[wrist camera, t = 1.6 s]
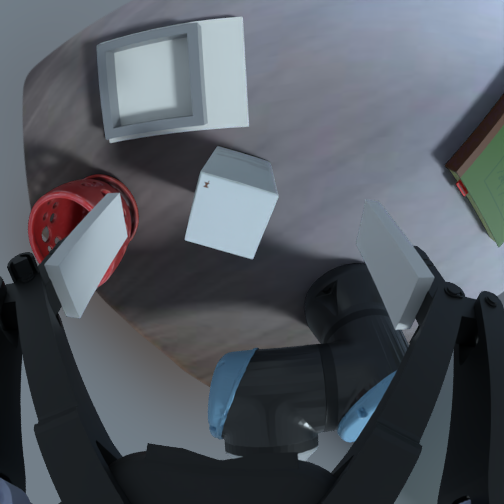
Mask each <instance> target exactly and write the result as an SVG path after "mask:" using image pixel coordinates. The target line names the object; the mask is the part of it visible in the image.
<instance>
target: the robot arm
mask: <svg viewBox="0 0 504 504" xmlns="http://www.w3.org/2000/svg"><path fill="white" fill-rule="evenodd" d="M127 237H128V236H127V230H126V225H125V220H124V214H123V209H122V203H121V196H120V193H107V194H106V196H105V197H104V198H103V199H102V200H101V201H100V202H99V203H98V204H97V205H96V206H95V207H94V208H93V209H92V210H91V211H90V212H89V213H88V214H87V215H86V217H85V218H84V219H83V220H82V221H81V222H80V223H79V224H78V225H77V226H76V228H75V229H74V230H73V231H72V232H71V233H70V234H69V235H68V236H66V237H65V238H63V239H62V240H60V241H59V242H58V243H57V244H56V245H55V246H54V248H53V250H51V251H50V252H49V255H47V256H46V257H45V258H44V260H43V261H42V262H41V263H40V264H39V266H37V263H36V261H35V258H34V256H33V254H32V253H30V252H26V253H22V254H19V255H17V256H15V257H14V258H13V259H11V260H10V262H9V263H8V266H7V268H8V271H9V273H10V275H11V277H12V280H13V282H14V283H12V284H6V285H5V283H4V281H3V279H2V278H1V277H0V504H32V503H31V502H30V501H29V498H28V497H27V495H26V483H25V482H26V480H25V479H26V478H25V466H24V457H23V447H22V434H21V406H20V392H21V364H22V354H23V360H24V365H25V370H26V374H27V379H28V383H29V388H30V392H31V396H32V399H33V403H34V407H35V410H36V414H37V417H38V421H39V422H38V424H35V425H34V432H35V435H36V438H37V442H38V445H39V448H40V451H41V453H42V456H43V459H44V461H45V464H46V467H47V469H48V472H49V474H50V477H51V479H52V481H53V484H54V486H55V488H56V490H57V493H58V495H59V497H60V499H61V501H62V502H60V503H59V504H394V502H395V500H396V499H397V497H398V495H399V494H400V492H401V490H402V488H403V487H404V485H405V483H406V481H407V479H408V477H409V476H410V473H411V472H412V470H413V468H414V466H415V464H416V462H417V460H418V458H419V455H420V453H421V450H422V446H421V445H420V444H419V442H420V439H421V437H422V435H423V432H424V430H425V428H426V426H427V423H428V421H429V418H430V416H431V413H432V411H433V409H434V406H435V403H436V401H437V398H438V395H439V393H440V390H441V387H442V384H443V381H444V378H445V375H446V372H447V369H448V366H449V362H450V359H451V356H452V352H453V349H454V377H453V399H452V411H451V422H450V431H449V439H448V447H447V453H446V459H445V464H444V470H443V475H442V480H441V485H440V490H439V495H438V503H437V504H504V308H503V305H502V303H501V301H500V300H499V298H498V297H497V296H496V295H495V294H493V293H490V292H487V291H483V292H481V293H480V294H479V296H478V298H477V300H476V299H472V298H467V297H465V294H464V292H463V290H462V289H461V288H460V287H458V286H457V285H455V284H453V283H450V282H445V280H444V279H443V277H442V276H441V274H440V273H439V272H438V270H437V269H436V267H435V266H434V264H433V263H432V262H431V261H430V259H429V257H428V256H427V255H426V253H425V252H424V251H422V250H421V249H420V248H419V247H417V246H413V245H412V244H411V243H410V241H409V240H408V238H407V237H406V236H405V234H404V233H403V232H402V230H401V229H400V228H399V226H398V225H397V224H396V223H395V221H394V220H393V219H392V217H391V216H390V215H389V213H388V212H387V211H386V210H385V208H384V207H383V206H382V205H381V203H380V202H379V201H375V200H365V205H364V210H363V214H362V219H361V224H360V228H359V232H358V237H357V241H356V245H357V247H358V249H359V251H360V253H361V255H362V257H363V259H364V261H365V263H366V264H348V265H344V266H340V267H338V268H335V269H333V270H331V271H329V272H327V273H326V274H324V275H323V276H322V277H320V278H319V279H318V280H317V281H316V282H315V283H314V284H313V286H312V287H311V288H310V290H309V292H308V294H307V296H306V299H305V305H304V309H305V315H306V320H307V324H308V326H309V328H310V330H311V331H312V332H313V334H314V335H315V336H316V338H317V339H318V341H319V342H320V343H321V344H313V345H304V346H294V347H283V348H271V349H259V348H254V349H253V350H245V351H236V352H230V353H227V354H225V355H224V356H223V357H222V358H221V359H220V360H219V362H218V364H217V366H216V368H215V371H214V374H213V378H212V382H211V387H210V393H209V403H208V422H209V424H210V432H211V434H212V436H213V437H215V438H218V439H224V440H225V451H226V454H227V455H228V456H230V457H231V458H232V459H228V460H216V459H213V458H210V457H207V456H204V455H201V454H197V453H195V452H192V451H189V450H186V449H183V448H176V447H169V446H162V445H155V444H149V443H148V445H147V451H144V452H137V453H133V454H129V455H126V456H124V457H122V455H121V454H120V453H119V451H118V450H117V449H116V447H115V446H114V444H113V443H112V441H111V439H110V438H109V436H108V434H107V432H106V430H105V428H104V426H103V424H102V422H101V420H100V418H99V416H98V414H97V412H96V409H95V407H94V406H93V403H92V401H91V399H90V396H89V394H88V392H87V390H86V387H85V385H84V382H83V380H82V377H81V375H80V372H79V370H78V367H77V365H76V362H75V360H74V357H73V354H72V351H71V349H70V346H69V343H68V340H67V337H66V334H65V331H64V328H63V325H62V321H61V318H60V316H59V314H58V312H59V310H60V308H61V307H62V308H63V310H64V312H65V315H66V316H67V317H73V318H81V316H82V314H83V312H84V310H85V308H86V307H87V305H88V303H89V301H90V299H91V297H92V295H93V294H94V292H95V290H96V288H97V287H98V285H99V283H100V281H101V280H102V278H103V276H104V275H105V273H106V271H107V269H108V268H109V266H110V264H111V263H112V261H113V259H114V258H115V256H116V254H117V253H118V251H119V250H120V248H121V246H122V245H123V243H124V242H125V240H126V238H127ZM415 318H416V320H417V322H418V324H419V326H418V328H417V330H416V331H415V333H414V335H413V337H412V339H411V340H410V342H409V343H410V345H409V344H408V342H407V340H406V338H405V336H404V334H403V332H402V330H401V329H410V328H411V326H412V324H413V322H414V320H415ZM334 430H337V432H338V434H339V436H340V437H341V438H342V439H343V440H344V441H346V442H354V444H353V445H352V447H351V448H350V450H349V451H348V453H347V454H346V455H345V456H344V458H343V459H342V460H341V461H340V463H339V464H338V465H337V466H336V468H335V469H334V470H333V471H332V472H331V473H330V472H329V471H327V470H325V469H324V468H322V467H320V466H318V465H315V464H313V463H310V462H307V459H308V457H309V456H310V455H311V454H312V453H313V452H314V451H315V450H316V449H317V448H318V433H321V432H327V431H334Z"/></svg>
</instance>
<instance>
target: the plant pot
mask: <svg viewBox="0 0 504 504" xmlns="http://www.w3.org/2000/svg"><path fill="white" fill-rule="evenodd" d="M107 193H120V196H121V203H122V209H123V214H124V220H125V225H126V230H127V236H128V237H127V238H126V240H125V242H124V243H123V245H122V246H121V248H120V250H119V251H118V253H117V254H116V256H115V258H114V259H113V261H112V263H111V264H110V266H109V268H108V269H107V271H106V273H105V275H104V276H103V278H102V280H101V281H100V283H99V285H98V287H99V286H101V285H102V284H104V283H105V282H106V281H107V280H108V279H109V277H110V276H111V275H112V273H113V272H114V271H115V269H116V268H117V266H118V265H119V263H120V261H121V260H122V258H123V256H124V254H125V251H126V249H127V246H128V244H129V242H130V241H131V240H132V238H133V237H134V235H135V233H136V230H137V227H138V221H139V214H138V208H137V204H136V201H135V199H134V197H133V195H132V194H131V192H130V191H129V190H128V188H127V187H126V186H125V185H124V184H123V183H121V182H120V181H119V180H117V179H115V178H113V177H111V176H108V175H102V174H96V175H91V176H88V177H86V178H84V179H81V180H75V181H71V182H68V183H65V184H63V185H60V186H58V187H56V188H55V189H53V190H51V191H49V192H48V193H46V194H45V195H43V196H42V197H41V198H40V199H39V200H38V201H37V202H36V203H35V204H34V206H33V208H32V210H31V213H30V217H29V222H28V234H29V241H30V245H31V248H32V251H33V253H34V255H35V257H36V259H37V261H38V262H39V264H40V263H41V262H42V261H43V260H44V258H45V257H46V256H47V255H49V251H48V246H50V247H51V249H52V250H53V248H54V246H55V245H56V244H55V238H56V237H57V238H59V240H62V239H63V238H65V237H66V236H68V235H69V234H70V233H71V232H72V231H73V230H74V229H75V228H76V226H77V225H78V224H79V223H80V222H81V221H82V220H83V219H84V218H85V217H86V215H87V214H88V213H89V212H90V211H91V210H92V209H93V208H94V207H95V206H96V205H97V204H98V203H99V202H100V201H101V200H102V199H103V198H104V197H105V196H106V194H107ZM54 203H56V204H55V205H54ZM53 205H54V206H53ZM45 213H46V214H45ZM53 213H54V218H53V220H52V221H51V222H50V217H51V215H52V214H53ZM44 214H45V216H44ZM43 216H44V218H43ZM46 226H47V227H48V230H49V237H48V240H47V241H46V242H44V241H43V240H42V231H43V229H44V228H45V227H46Z"/></svg>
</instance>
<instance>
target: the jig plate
mask: <svg viewBox="0 0 504 504" xmlns="http://www.w3.org/2000/svg"><path fill="white" fill-rule="evenodd" d="M97 64H98V78H99V89H100V99H101V108H102V116H103V124H104V131H105V138H106V140H107V139H109V140H110V143H113V142H118V141H124V140H130V139H136V138H142V137H149V136H155V135H163V134H170V133H178V132H187V131H196V130H207V129H219V128H232V127H249V117H248V99H247V81H246V63H245V46H244V29H243V17H231V18H220V19H211V20H203V21H195V22H189V23H182V24H176V25H171V26H166V27H161V28H156V29H151V30H147V31H142V32H138V33H134V34H130V35H127V36H123V37H119V38H116V39H112V40H109V41H106V42H103V43H100V44H99V45H97Z"/></svg>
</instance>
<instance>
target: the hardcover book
mask: <svg viewBox="0 0 504 504" xmlns="http://www.w3.org/2000/svg"><path fill="white" fill-rule="evenodd" d="M445 167H446V168H448V169H449V170H450V171H451V173H452V174H453V176H454V177H455V179H456V180H457V183H456V185H457V187H458V188H459V190H460V192H461V193H462V195H463V196H464V197H465V195H466V196H467V198H468V199H469V201H470V203H471V204H472V206H473V208H474V209H475V211H476V213H477V215H478V216H479V218H480V220H481V222H482V224H483V225H484V227H485V229H486V231H487V233H488V235H489V237H490V238H491V239H492V240H493V241H495V242H496V243H497V246H498V247H500V246H501V245H502V244H503V242H504V94H503V95H502V96H501V98H500V99H499V100H498V102H497V103H496V104H495V106H494V107H493V108H492V109H491V111H490V112H489V113H488V114H487V116H486V117H485V118H484V120H483V121H482V122H481V123H480V124H479V126H478V127H477V128H476V129H475V131H474V132H473V133H472V134H471V135H470V137H469V138H468V139H467V140H466V141H465V143H464V144H463V145H462V146H461V147H460V148H459V150H458V151H457V152H456V153H455V154H454V155H453V157H452V158H451V159H450V160H449V161H448V162H447V163H446V165H445Z"/></svg>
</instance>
